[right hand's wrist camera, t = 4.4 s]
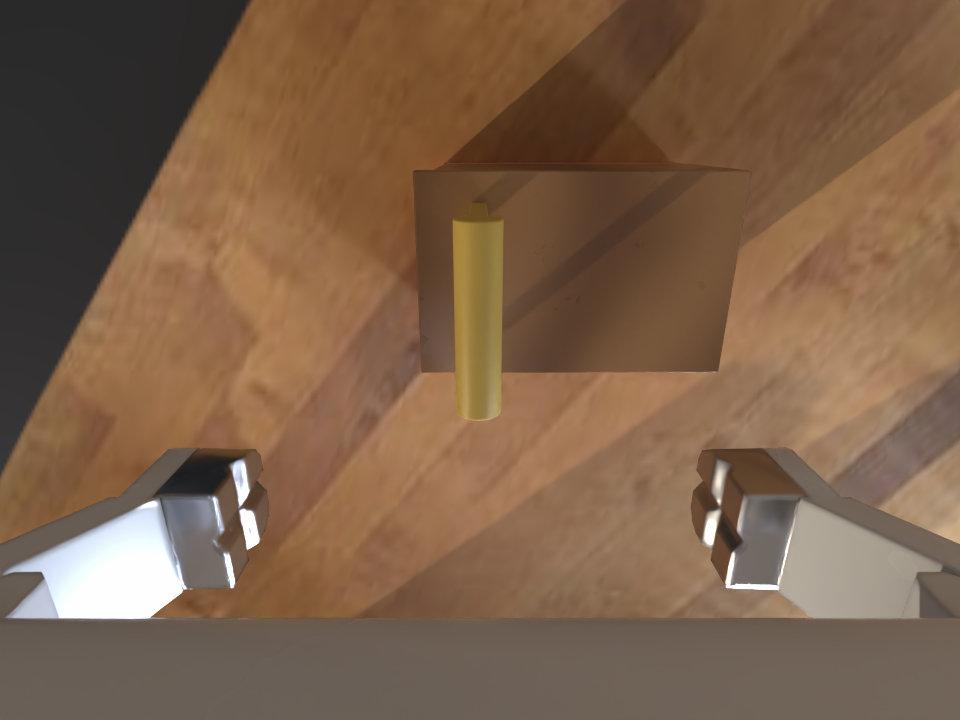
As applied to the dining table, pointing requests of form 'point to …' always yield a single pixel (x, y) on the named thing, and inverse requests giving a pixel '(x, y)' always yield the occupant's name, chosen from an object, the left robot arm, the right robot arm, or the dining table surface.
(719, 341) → the lid
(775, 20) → the dining table surface
